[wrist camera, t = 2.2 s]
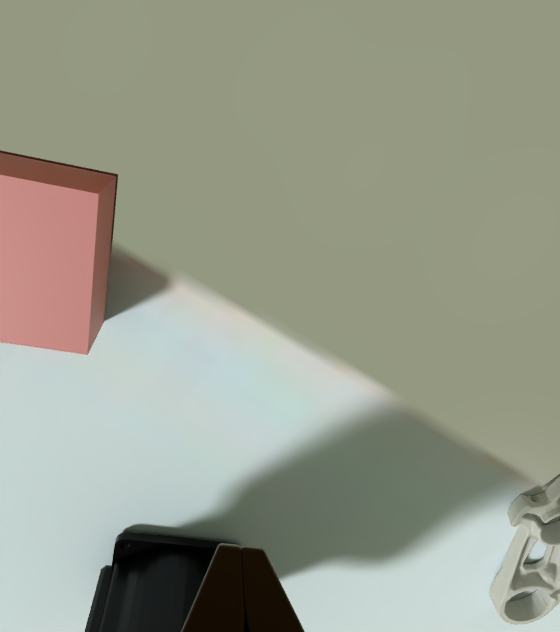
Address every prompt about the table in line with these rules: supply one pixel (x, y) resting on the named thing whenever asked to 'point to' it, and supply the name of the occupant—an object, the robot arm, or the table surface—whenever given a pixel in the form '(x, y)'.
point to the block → (54, 252)
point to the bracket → (545, 575)
